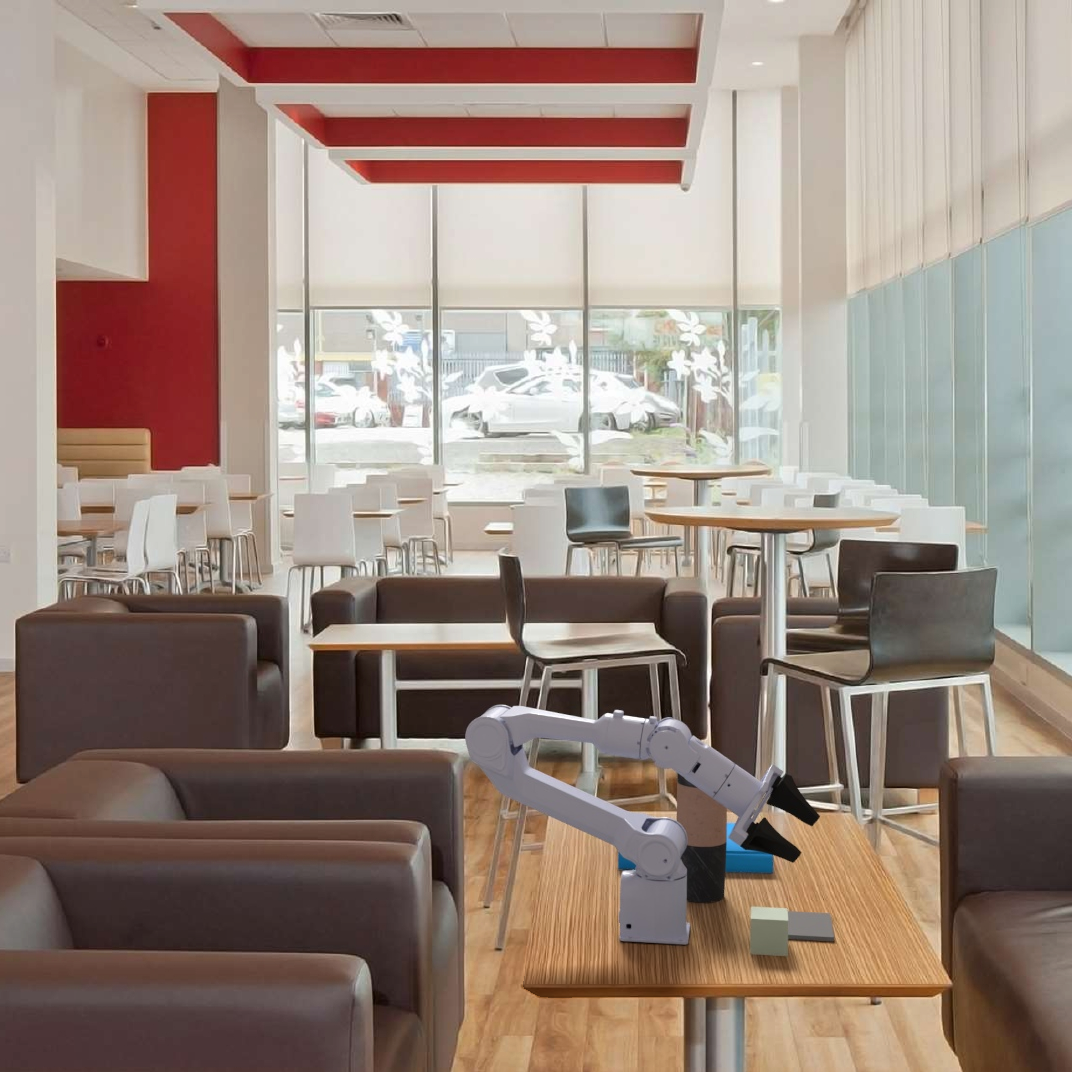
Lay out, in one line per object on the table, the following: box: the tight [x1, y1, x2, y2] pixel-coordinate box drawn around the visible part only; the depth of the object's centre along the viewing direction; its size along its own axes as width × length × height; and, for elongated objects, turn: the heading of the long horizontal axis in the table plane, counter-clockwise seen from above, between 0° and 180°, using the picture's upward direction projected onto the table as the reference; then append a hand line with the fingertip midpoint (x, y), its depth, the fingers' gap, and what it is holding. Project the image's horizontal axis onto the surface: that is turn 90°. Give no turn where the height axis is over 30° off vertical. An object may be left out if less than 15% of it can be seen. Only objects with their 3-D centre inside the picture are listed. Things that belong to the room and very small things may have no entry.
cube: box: [749, 906, 789, 957], centre depth 195 cm, size 5×5×5 cm
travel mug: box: [676, 772, 728, 904], centre depth 217 cm, size 8×8×20 cm
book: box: [617, 822, 774, 874], centre depth 238 cm, size 17×4×25 cm
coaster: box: [788, 910, 835, 942], centre depth 204 cm, size 10×10×1 cm
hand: (807, 839), depth 195 cm, fingers open, 7 cm apart
